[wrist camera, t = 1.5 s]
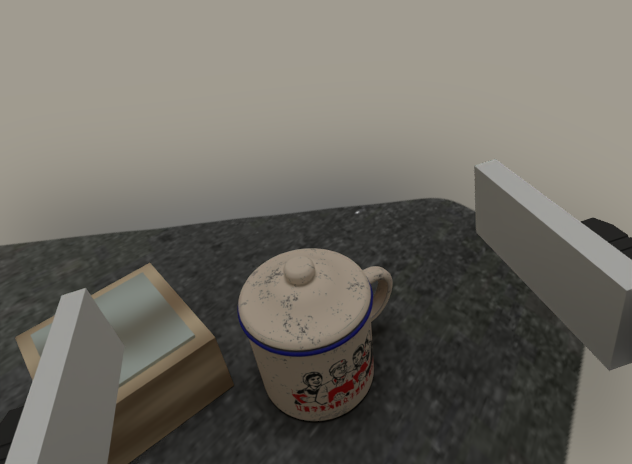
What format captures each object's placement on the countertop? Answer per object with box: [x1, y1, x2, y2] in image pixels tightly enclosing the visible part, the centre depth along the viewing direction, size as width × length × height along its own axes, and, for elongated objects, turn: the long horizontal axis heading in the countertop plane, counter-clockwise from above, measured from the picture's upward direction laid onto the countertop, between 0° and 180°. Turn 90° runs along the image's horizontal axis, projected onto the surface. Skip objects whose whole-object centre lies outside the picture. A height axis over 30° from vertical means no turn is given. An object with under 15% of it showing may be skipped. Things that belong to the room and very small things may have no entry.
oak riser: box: [15, 263, 234, 464], centre depth 36 cm, size 11×11×6 cm
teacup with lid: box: [238, 249, 392, 421], centre depth 34 cm, size 12×9×12 cm
